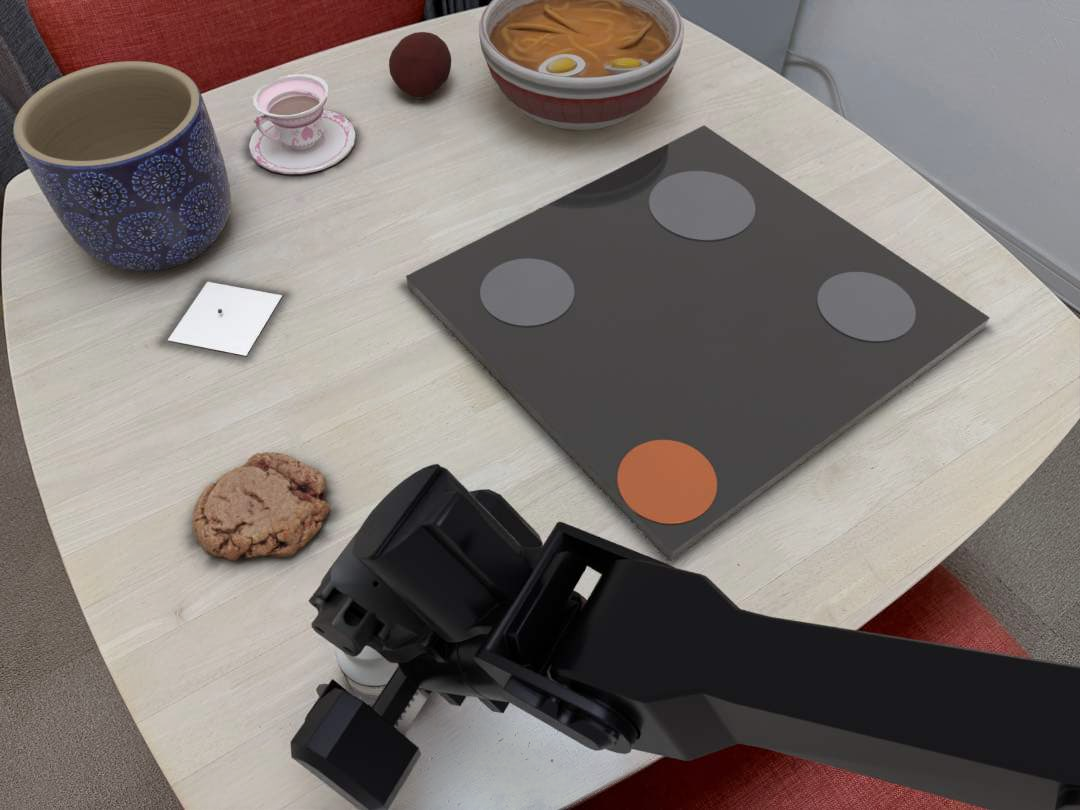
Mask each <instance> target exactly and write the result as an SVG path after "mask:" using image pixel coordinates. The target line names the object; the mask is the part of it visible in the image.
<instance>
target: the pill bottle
mask: <svg viewBox="0 0 1080 810" xmlns="http://www.w3.org/2000/svg"><path fill="white" fill-rule="evenodd" d="M334 648H335V649H334V650H335V652H334V653H335V659H336V662H337V664H338V667H339V669H340V671H341V673H342V674H343V677H344V678H345V681H346V683H347V685H348V687H349V689H350V691H351V692H352V695H353V696H355V697H357V698H359V699H360V700H362V701H364V702H365V703H366V704H369V705H370V706H371V707H372V705H373V704H374V702H375V701H376V699H377V698H378V696H379V695H380V693H381V692H382V690H383V689H384V687H385V686H386V684H387V683H388V681H389V680H390V678H391V676H392V675H393V673H394V672H395V670H396V669H397V667H398V666H399V665H398V663H390V662H388V661H387V660H386V659H385V658H384V657H383V656H381V655H380V654H379V653H378V652H377V651H376V650H374V649H372V648H371V647H369V646H365V647H364V649H363V650H362V652H361V653H360V654H359V655H358V656H355V657H352V656H350V655H348V654H346V653H344V652H343V651H342V650H340V649H339V648H337V647H336V646H335V645H334Z"/></svg>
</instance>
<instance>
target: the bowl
mask: <svg viewBox="0 0 1080 810" xmlns="http://www.w3.org/2000/svg"><path fill="white" fill-rule="evenodd" d="M480 16H481V17H480V19H479V22H478V37H479V43H480V49H481V53H482V55H483V58H484V61H485V63H486V65H487V68H488V70H489V72H490V75H491V77H492V79H493V81H494V83H496V85H497V86H498V88H499V90H501V92H502V94H504V96H505V97H506V99H507V100H508V101H509V102H511V103H512V105H514V106H515V107H517V108H518V110H520V111H521V112H522V113H524V114H525V115H526V116H528V117H529V118H531V119H533V120H535V121H537V122H539V123H542V124H545V125H548V126H549V127H550V126H551V127H554V128H557V129H562V130H568V131H569V130H570V131H591V130H597V129H601V128H606V127H610V126H613V125H616V124H619V123H621V122H623V121H625V120H628V119H629V118H630V117H632V116H634V115H635V114H636V113H638V112H639V111H640V110H642V109H643V108H645V107H646V106H647V105H649V104H650V102H651V101H652V100H653V99H654V98H655V97H656V96H657V95H658V94H659V92H660V91H661V90H662V88H663V87H664V86H665V85H666V83H667V82H668V80H669V78H670V76H671V74H672V71H673V69H674V67H675V66H676V63H677V61H678V60H679V57H680V54H681V52H682V51H681V50H682V46H683V42H684V34H685V26H684V22H683V19H682V16H681V14H680V13H679V11H678V10H677V8H676V7H675V5H674V4H673V3H672V2H670V0H491V1H490V2H489V4H487V6H486V7H485V9H484V10H483V11H482V14H481V15H480Z"/></svg>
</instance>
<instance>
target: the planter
mask: <svg viewBox="0 0 1080 810" xmlns="http://www.w3.org/2000/svg"><path fill="white" fill-rule="evenodd" d="M12 129H13V138H14V142H15V143H16V145H17V148H18V150H19V152H20V155H21V156H22V158H23V160H24V162H25V164H26V166H27V167H28V169H29V171H30V173H31V174H32V176H33V178H34V181H35V182H36V184H37V185H38V187H39V189H40V190H41V192H42V195H43V196H44V197H45V199H46V201H47V202H48V204H49V206H50V208H51V209H52V211H53V212H54V214H55V216H56V217H57V219H58V220H59V222H60V223H61V224H62V226H63V227H64V229H65V230H66V232H67V233H68V234H69V236H70V237H71V238H72V240H73V241H74V242H75V243H76V244H77V245H78V246H79V247H80V248H81V249H82V250H83V251H84V252H85V253H87V254H88V255H90V256H91V257H93V258H94V259H97V260H98V261H100V262H102V263H104V264H106V265H109V266H111V267H114V268H119V269H122V270H128V271H134V272H153V271H154V272H156V271H161V270H162V271H163V270H166V269H171V268H173V267H177V266H180V265H183V264H184V263H187V262H189V261H192V260H194V259H196V257H198V256H199V255H201V254H202V253H204V252H206V250H207V249H209V248H210V247H211V246H212V245H213V244H214V243H215V242H216V240H217V239H218V237H219V236H220V235H221V233H222V232H223V229H224V228H225V226H226V224H227V221H228V218H229V215H230V211H231V206H232V196H231V195H232V193H231V192H232V191H231V186H230V185H231V184H230V181H229V175H228V171H227V168H226V164H225V161H224V156H223V154H222V150H221V146H220V143H219V141H218V137H217V134H216V132H215V131H216V130H215V129H214V125H213V123H212V120H211V117H210V115H209V111H208V109H207V106H206V103H205V100H204V98H203V96H202V93H201V91H200V89H199V87H198V85H197V84H196V82H195V81H194V80H193V79H192V78H191V77H190V76H189V75H187V74H186V73H184V72H183V71H181V70H179V69H177V68H174V67H172V66H169V65H166V64H163V63H162V64H161V63H157V62H152V61H151V62H150V61H138V60H137V61H136V60H135V61H134V60H133V61H132V60H128V61H116V62H107V63H102V64H97V65H92V66H88V67H85V68H82V69H79V70H75V71H74V72H73V71H72V72H71V73H68V74H66V75H64V76H61V77H59V78H57V79H54V80H53V81H52V82H50V83H48V84H46V85H45V86H43V87H42V88H40V89H39V90H38V91H36V92H35V93H33V95H32V96H30V97H29V98H28V99H27V100H26V101H25V103H24V104H23V105H22V107H21V108H20V109H19V111H18V113H17V114H16V116H15V119H14V123H13V128H12Z"/></svg>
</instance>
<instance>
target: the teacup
mask: <svg viewBox="0 0 1080 810" xmlns="http://www.w3.org/2000/svg"><path fill="white" fill-rule="evenodd" d="M329 92H330V87H329V85H328V83H327V82H326V81H325V79H323V78H322V77H320V76H317V75H314V74H310V73H309V74H308V73H294V74H287V75H283V76H280V77H277V78H274V79H272V80H270V81H268V82H266V83H264V84H263V85H262V86H261V87H260V88H258V89H257V91H256V92H255V93H254V95H253V98H252V104H253V105H252V106H253V108H254V109H255V110H256V111H257V112H259V113H261V114H262V115H260V116H256V118H255V119H254V120H253V123H254V124H255V126H256V129H255V131H254V132H253V133H252V135H251V137H250V140H249V143H248V148H249V151H250V156H251V158H252V159H253V160H254V161H255V162H256V163H257V164H258V165H259V166H260V167H262V168H264V169H266V170H268V171H270V172H274V173H279V174H284V175H306V174H310V173H315V172H319V171H322V170H325V169H328V168H329V167H332V166H335V165H336V164H338V163H339V162H340V161H342V160H343V159H344V158H346V157H347V156H348V155H349V154H350V153H351V151H352V149H353V148H354V146H355V142H356V136H357V135H356V131H355V129H354V126H353V123H351V122H350V120H348V119H347V118H346V117H345V116H344V115H341V114H339V113H337V112H335V111H332V110H327V109H324V108H325V105H326V103H327V101H328V95H329Z"/></svg>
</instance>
